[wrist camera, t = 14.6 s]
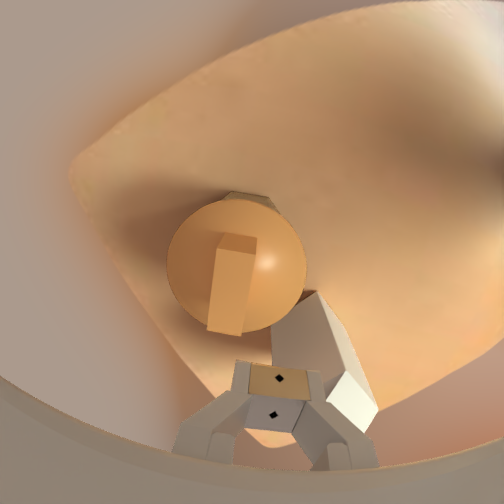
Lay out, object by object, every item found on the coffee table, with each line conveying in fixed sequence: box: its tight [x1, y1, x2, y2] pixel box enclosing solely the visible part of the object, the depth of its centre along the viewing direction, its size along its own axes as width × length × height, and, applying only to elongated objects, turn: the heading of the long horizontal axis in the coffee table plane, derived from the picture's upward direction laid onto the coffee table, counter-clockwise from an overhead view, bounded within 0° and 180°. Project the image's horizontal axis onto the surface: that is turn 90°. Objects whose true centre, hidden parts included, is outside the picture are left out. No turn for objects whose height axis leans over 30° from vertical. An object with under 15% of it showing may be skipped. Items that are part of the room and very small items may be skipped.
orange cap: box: [167, 199, 307, 336], centre depth 22 cm, size 11×11×7 cm
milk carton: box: [271, 291, 378, 433], centre depth 27 cm, size 7×7×19 cm
